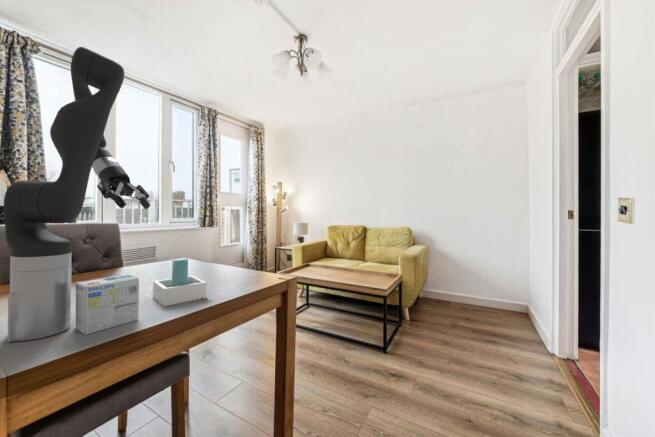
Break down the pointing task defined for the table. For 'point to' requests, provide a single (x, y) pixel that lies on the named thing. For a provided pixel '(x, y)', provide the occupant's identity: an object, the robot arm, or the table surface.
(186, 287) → the hole box
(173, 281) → the peg
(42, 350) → the table surface
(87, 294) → the light bulb box
